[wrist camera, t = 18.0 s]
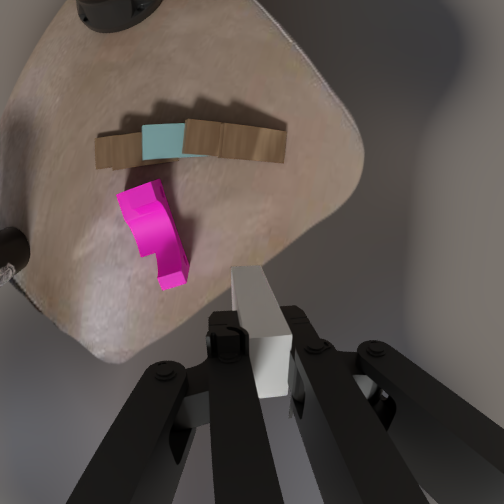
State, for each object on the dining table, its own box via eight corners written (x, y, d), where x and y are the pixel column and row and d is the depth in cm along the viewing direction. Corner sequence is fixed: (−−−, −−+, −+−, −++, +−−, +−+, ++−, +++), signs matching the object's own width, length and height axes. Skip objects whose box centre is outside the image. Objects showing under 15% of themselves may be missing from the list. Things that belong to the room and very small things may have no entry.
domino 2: (177, 160, 44) (113, 170, 40) (174, 129, 42) (110, 138, 39) (178, 160, 42) (112, 170, 39) (176, 128, 41) (109, 137, 37)
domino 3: (210, 123, 41) (142, 125, 37) (210, 155, 43) (143, 159, 38) (207, 124, 42) (141, 126, 38) (207, 156, 44) (142, 160, 40)
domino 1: (157, 162, 44) (99, 169, 43) (156, 131, 42) (98, 139, 41) (155, 162, 42) (95, 169, 41) (154, 130, 41) (94, 138, 40)
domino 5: (278, 162, 46) (217, 157, 41) (281, 132, 44) (220, 123, 40) (283, 163, 44) (221, 157, 40) (286, 131, 43) (224, 122, 39)
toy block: (124, 191, 44) (109, 197, 37) (160, 178, 44) (150, 181, 37) (155, 276, 49) (147, 295, 42) (189, 265, 49) (186, 283, 42)
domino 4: (245, 158, 45) (181, 153, 41) (248, 127, 44) (185, 120, 39) (249, 159, 44) (184, 153, 39) (253, 126, 42) (187, 118, 38)
